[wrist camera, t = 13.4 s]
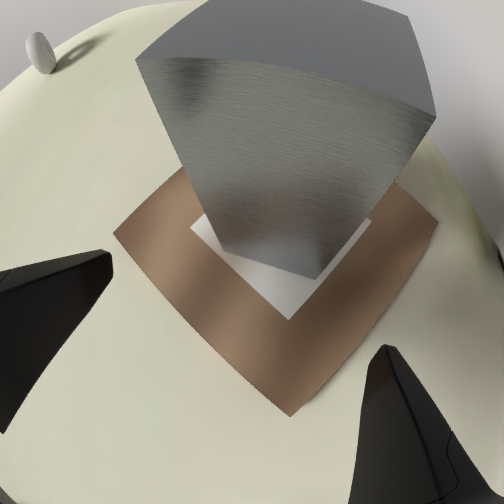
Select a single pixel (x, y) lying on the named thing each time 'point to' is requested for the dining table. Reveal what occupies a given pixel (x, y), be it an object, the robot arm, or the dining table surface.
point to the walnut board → (275, 288)
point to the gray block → (290, 119)
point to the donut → (40, 53)
